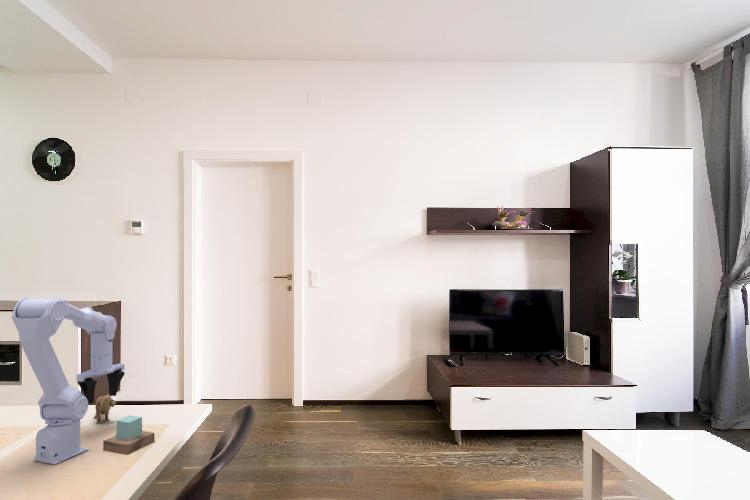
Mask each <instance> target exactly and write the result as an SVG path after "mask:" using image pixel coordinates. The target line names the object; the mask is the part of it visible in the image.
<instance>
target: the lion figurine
mask: <svg viewBox="0 0 750 500" xmlns="http://www.w3.org/2000/svg"><path fill="white" fill-rule="evenodd" d="M116 403H117V400H115V399H113V398H112V397H111V396H110V395H109V394H105V395H102V396H99V397H97V399H96V402H95V414H94V417H93V419H96V422H95V423H96V424H97V425H98V424H101V422H102V420H101V415H105V416H104V421H105V422H110V418H109V413H110V410H111V408H114V407H115V404H116Z"/></svg>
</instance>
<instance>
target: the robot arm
mask: <svg viewBox="0 0 750 500" xmlns="http://www.w3.org/2000/svg"><path fill="white" fill-rule="evenodd" d="M93 309H94V308H93V307H90V306H85V307H83V308H78V307H76V306H75V305H72V304H70V303H69V302H68V301H67V300H66V299H62V298H59V297H58V298H57V297H56V298H28V297H27V298H21V299H20V300H18V302H16V304H15V306H14V309H13V311H12V313H11V319H12V321H13V323H14V325H15V327H16V330H17V332H18V335H19V336H18V337H19V343H20V346H21V348H22V350H23V352H24V354H25V356H26V358H27V361H28V362H29V365H30V366H31V368H32V370H33V373H34V375H35V376H36V378H37V381H38V384H39V385H40V387H41V390H42V392H43V394H42V395H41V396H40V398H39V399H38V401H37V404H38V406H39V415H40V418H41V419H42V420H44V421H45V422H44V424H45V425H46V426H45V427H43V428H41V429H39V430H38V431H37V433H36V436H35V457H34V458H33V461H35V462H36V461H37V462H41V463H46V464H49V465H50V464H51V465H56V464H59V463H61V462H64V461H66V460H68V459H71V458H73V457H75V456H77V455H80V454H82V453H84V452H86V451H88V450H89V447H83V446H81V420H82V419H84V417H85V415H86V414H87V412H88V409H89V404H94V402H95V389H96V386H97V382H98V381H97V380H94V379H93V378H97V377H101V376H104V375H106V377H107V382H108V393H109V394H108V395H110V397H111V396H112V397H115V396H117V393H118V390H119V386H120V383H121V381H122V379H123V378H124V376H125V367H126V365H125V363H116V364H113V340H114V339H115V335H116V333H115V332H116V330H117V326H118V323H117V320H116V318H115V317H113V316H112V315H110V314H109V315H106V314H103V312H100V311H95V310H93ZM64 319H66V320H69V321H72V324H73V325H74V327H77V328H80V329H82V330H85V331H86V333H87V335H90V369H89V370H85V371H83V372H81V373H78V374H76V382H77V385H78V386H79V387H80V389H81V390H80V389H78V388H76V387H75V386H71V385H70V384H69V381H68V379H67V377H66V375H65V372H64V370H63V368H62V366H61V364H60V361H59V359H58V357H57V354H56V352H55V350H54V347H53V345H52V343H51V341H50V338H51V337H52V336H54V335H56V333H57V331H58V330H59V328H60V326H61V324H62V322H63V321H64ZM82 392H83V394H84V395H83V394H82Z"/></svg>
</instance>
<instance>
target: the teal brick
mask: <svg viewBox="0 0 750 500" xmlns="http://www.w3.org/2000/svg"><path fill="white" fill-rule="evenodd" d="M142 431H143V416H137V415H131V414H130V415H127V416H125V417H123V418H120V419H117V420H116V435H117V439H121V440H127V441H129V440H131V439H134V438H136V437H138V436H140V435H142Z"/></svg>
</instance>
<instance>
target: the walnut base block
mask: <svg viewBox="0 0 750 500" xmlns="http://www.w3.org/2000/svg"><path fill="white" fill-rule="evenodd" d="M154 442H155V432H151V431H146V430H142V435H140V436H138V437H136V438H134V439H131V440H129V441H127V440H121V439H117V434H116V435H113V436H111V437H109V438H107V439H105V440H102V446H103V447H102V450H103V451H107V452H112V453H113V452H114V453H117V454H118V453H119V454H124V455H129V454H131V453H134V452H136V451H138V450H140V449H142V448H144V447H147V446H148V445H150V444H152V443H154Z"/></svg>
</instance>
